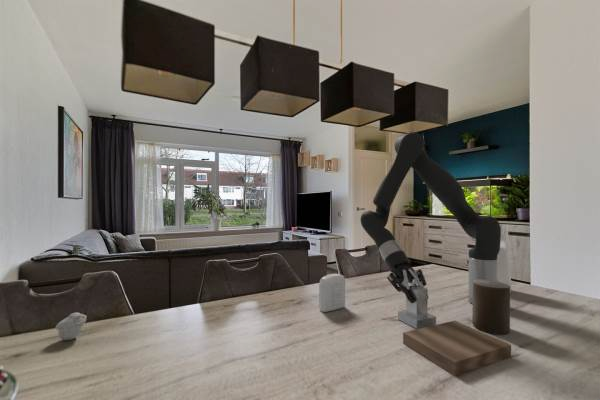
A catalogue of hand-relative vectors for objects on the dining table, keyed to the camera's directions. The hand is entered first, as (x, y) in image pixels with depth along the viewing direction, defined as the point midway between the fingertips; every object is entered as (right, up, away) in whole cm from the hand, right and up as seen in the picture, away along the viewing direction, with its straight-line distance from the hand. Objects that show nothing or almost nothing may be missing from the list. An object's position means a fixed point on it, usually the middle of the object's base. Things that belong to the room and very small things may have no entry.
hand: (420, 300), depth 93 cm
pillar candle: (+21, -8, -3) cm, 22 cm away
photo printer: (-26, -7, +13) cm, 30 cm away
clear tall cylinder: (+46, -8, +35) cm, 58 cm away
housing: (-1, -7, +1) cm, 7 cm away
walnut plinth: (+3, -7, -16) cm, 18 cm away
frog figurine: (-102, -7, -10) cm, 103 cm away
